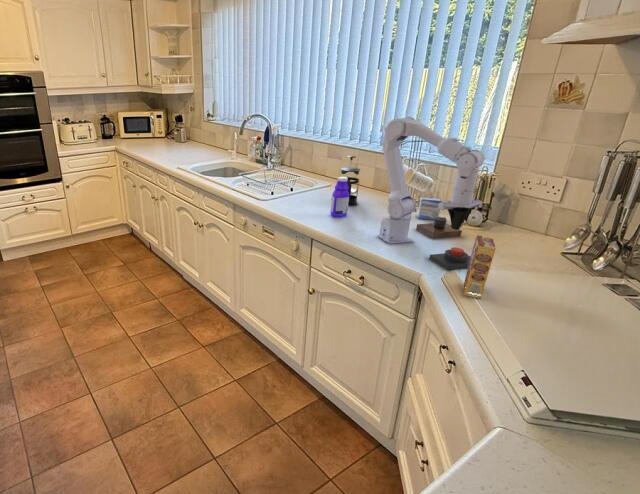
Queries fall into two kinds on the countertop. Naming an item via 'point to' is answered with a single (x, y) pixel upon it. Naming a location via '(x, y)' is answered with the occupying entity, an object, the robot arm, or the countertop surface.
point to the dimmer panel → (438, 231)
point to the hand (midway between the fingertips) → (455, 228)
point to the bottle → (340, 198)
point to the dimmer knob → (439, 222)
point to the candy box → (479, 265)
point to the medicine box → (428, 208)
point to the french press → (351, 182)
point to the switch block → (451, 260)
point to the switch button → (457, 251)
